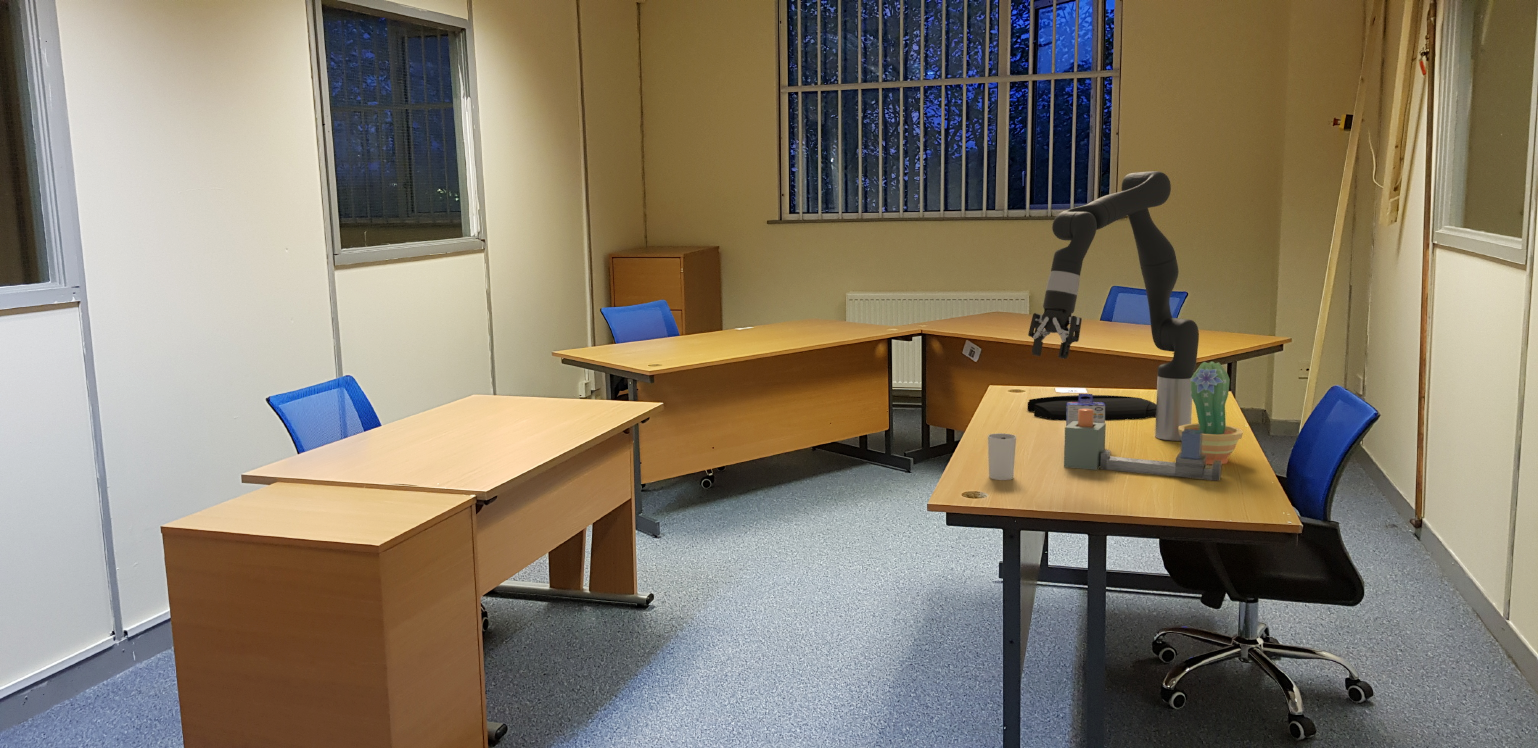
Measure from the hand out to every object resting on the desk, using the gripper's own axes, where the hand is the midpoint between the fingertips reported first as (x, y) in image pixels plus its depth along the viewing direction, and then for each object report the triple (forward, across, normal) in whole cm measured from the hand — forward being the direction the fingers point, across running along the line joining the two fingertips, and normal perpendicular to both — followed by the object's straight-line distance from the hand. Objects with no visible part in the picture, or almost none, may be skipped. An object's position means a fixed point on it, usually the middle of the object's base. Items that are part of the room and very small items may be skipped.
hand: (1049, 356), depth 259 cm
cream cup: (+31, -1, +9) cm, 32 cm away
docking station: (+10, +42, -70) cm, 82 cm away
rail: (+23, -20, -24) cm, 38 cm away
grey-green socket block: (+24, -3, -16) cm, 29 cm away
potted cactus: (+18, -18, -44) cm, 51 cm away
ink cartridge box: (+21, +10, -30) cm, 38 cm away
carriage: (+22, -26, -27) cm, 43 cm away
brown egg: (+17, -4, -14) cm, 22 cm away
